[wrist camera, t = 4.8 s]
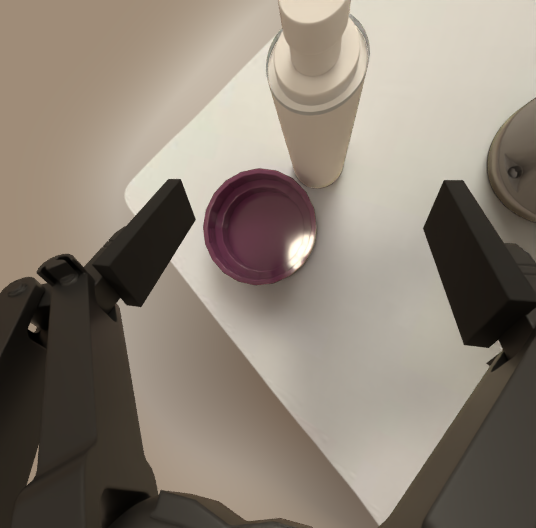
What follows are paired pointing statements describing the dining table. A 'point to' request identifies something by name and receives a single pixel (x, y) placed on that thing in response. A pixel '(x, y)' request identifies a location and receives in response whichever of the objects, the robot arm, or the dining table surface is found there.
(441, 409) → the dining table surface
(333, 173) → the spray bottle
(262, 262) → the bowl
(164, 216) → the robot arm
